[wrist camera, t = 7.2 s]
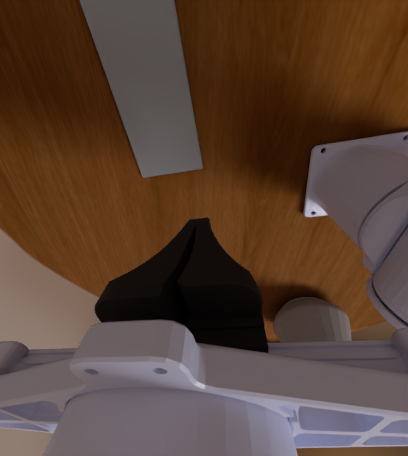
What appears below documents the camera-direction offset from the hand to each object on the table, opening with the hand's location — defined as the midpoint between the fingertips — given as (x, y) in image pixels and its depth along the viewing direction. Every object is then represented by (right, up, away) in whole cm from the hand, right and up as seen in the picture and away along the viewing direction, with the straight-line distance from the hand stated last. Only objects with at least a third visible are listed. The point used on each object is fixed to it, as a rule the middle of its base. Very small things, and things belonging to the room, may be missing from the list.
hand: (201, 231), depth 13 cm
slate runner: (-5, +14, +3) cm, 16 cm away
